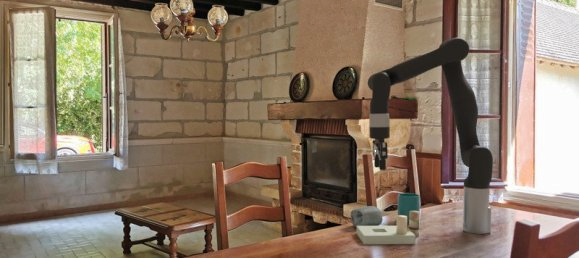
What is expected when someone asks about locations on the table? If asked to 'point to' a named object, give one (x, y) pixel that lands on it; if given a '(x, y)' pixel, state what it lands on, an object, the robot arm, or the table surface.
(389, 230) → the seat board
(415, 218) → the peg
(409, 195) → the cup
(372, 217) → the spool
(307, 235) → the table surface
